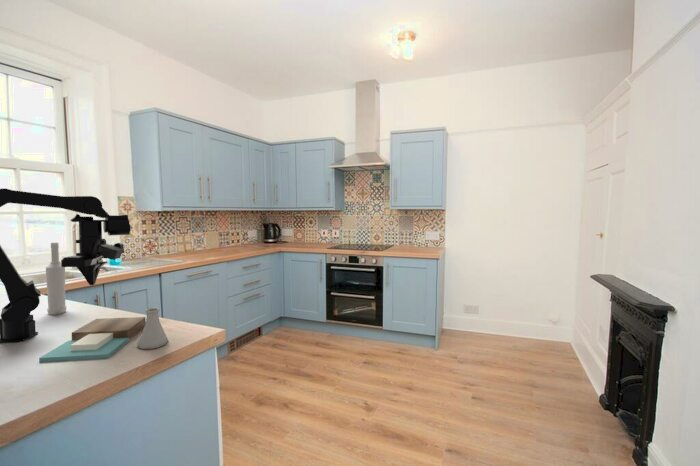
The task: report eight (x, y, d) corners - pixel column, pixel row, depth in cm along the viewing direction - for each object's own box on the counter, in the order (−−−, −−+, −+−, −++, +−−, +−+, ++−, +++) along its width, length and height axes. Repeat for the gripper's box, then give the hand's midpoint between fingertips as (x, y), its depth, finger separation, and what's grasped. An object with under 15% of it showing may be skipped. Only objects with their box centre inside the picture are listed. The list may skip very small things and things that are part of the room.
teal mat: (39, 361, 80) (39, 358, 80) (68, 344, 91) (68, 340, 91) (108, 358, 83) (108, 354, 83) (129, 341, 94) (128, 337, 94)
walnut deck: (71, 343, 92) (71, 332, 91) (96, 328, 103) (96, 318, 103) (127, 340, 94) (127, 330, 94) (145, 326, 106) (145, 316, 106)
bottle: (55, 310, 120) (52, 241, 119) (70, 310, 121) (68, 242, 119) (43, 314, 115) (40, 243, 114) (59, 314, 116) (56, 243, 114)
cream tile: (70, 350, 84) (70, 345, 84) (89, 339, 92) (89, 333, 92) (96, 349, 85) (96, 344, 85) (113, 338, 93) (113, 332, 93)
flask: (154, 351, 88) (153, 314, 87) (130, 348, 89) (130, 312, 88) (173, 341, 95) (173, 306, 94) (152, 338, 96) (151, 304, 95)
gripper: (101, 238, 97) (103, 291, 98) (132, 234, 115) (133, 278, 116) (58, 238, 95) (60, 292, 96) (97, 234, 113) (98, 279, 114)
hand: (92, 284), depth 106 cm, fingers closed
